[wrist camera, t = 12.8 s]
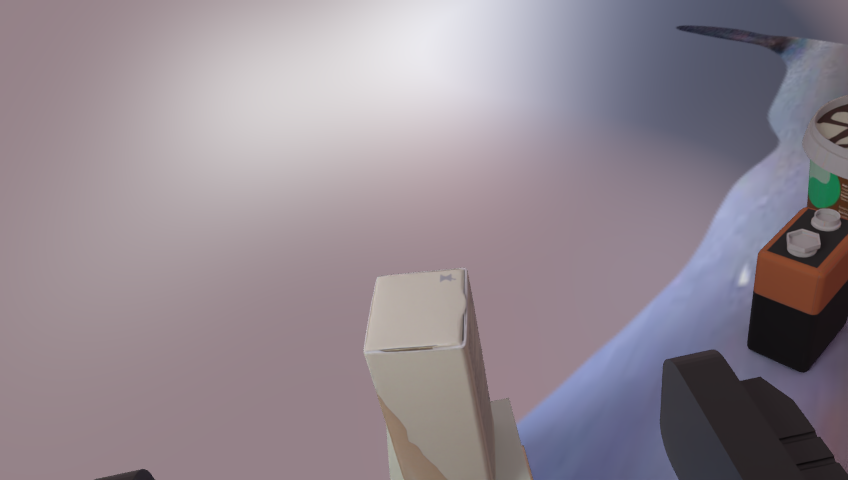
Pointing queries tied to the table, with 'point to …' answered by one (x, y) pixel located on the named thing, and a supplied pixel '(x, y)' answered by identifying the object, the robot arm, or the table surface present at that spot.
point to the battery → (801, 289)
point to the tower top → (507, 446)
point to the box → (431, 375)
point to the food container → (828, 157)
